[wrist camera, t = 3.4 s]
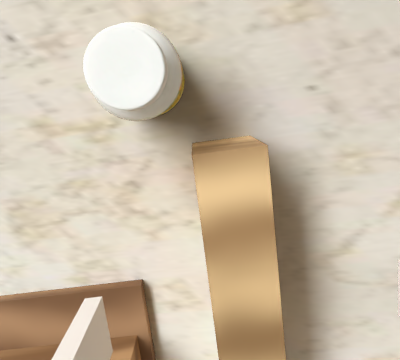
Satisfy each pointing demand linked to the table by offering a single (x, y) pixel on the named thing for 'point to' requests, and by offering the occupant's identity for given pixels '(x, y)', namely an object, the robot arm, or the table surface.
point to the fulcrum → (63, 316)
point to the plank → (240, 247)
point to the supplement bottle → (133, 71)
